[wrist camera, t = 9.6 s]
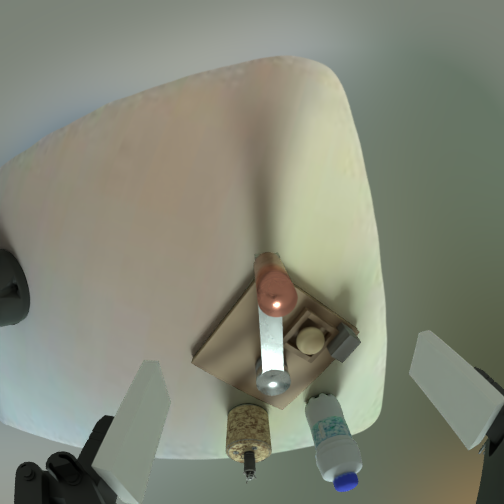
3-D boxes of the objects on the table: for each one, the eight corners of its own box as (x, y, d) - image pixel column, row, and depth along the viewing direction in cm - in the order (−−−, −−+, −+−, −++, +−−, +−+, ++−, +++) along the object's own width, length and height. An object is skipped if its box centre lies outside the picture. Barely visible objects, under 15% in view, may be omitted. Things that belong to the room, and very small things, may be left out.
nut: (288, 337, 38) (292, 351, 35) (306, 316, 38) (312, 330, 34) (308, 349, 39) (314, 364, 35) (326, 330, 38) (333, 343, 34)
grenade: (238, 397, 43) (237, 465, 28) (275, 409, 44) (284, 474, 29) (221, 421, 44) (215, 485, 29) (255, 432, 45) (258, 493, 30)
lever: (288, 384, 38) (301, 444, 26) (256, 387, 38) (260, 448, 26) (285, 247, 33) (307, 277, 21) (245, 249, 33) (245, 282, 21)
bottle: (294, 406, 43) (314, 496, 24) (321, 383, 42) (354, 474, 23) (318, 418, 44) (343, 501, 25) (344, 397, 43) (380, 479, 24)
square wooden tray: (192, 357, 41) (186, 378, 35) (265, 264, 38) (269, 276, 32) (281, 404, 43) (284, 425, 38) (356, 327, 40) (369, 345, 35)
